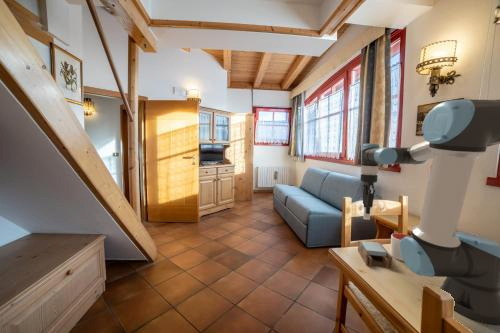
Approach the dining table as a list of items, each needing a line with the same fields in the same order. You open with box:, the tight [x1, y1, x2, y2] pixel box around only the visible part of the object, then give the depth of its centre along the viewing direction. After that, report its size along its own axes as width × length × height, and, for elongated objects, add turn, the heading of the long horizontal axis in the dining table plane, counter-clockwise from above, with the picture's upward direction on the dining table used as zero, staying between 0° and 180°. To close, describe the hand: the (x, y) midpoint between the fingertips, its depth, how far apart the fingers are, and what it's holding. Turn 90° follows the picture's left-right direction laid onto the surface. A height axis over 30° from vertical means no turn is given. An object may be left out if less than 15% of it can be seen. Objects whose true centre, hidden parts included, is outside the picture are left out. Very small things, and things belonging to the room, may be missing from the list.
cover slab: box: [360, 240, 388, 257], centre depth 99 cm, size 10×8×2 cm
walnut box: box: [357, 241, 394, 269], centre depth 97 cm, size 14×10×5 cm
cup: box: [389, 232, 411, 262], centre depth 99 cm, size 10×10×10 cm
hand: (366, 219), depth 109 cm, fingers closed
